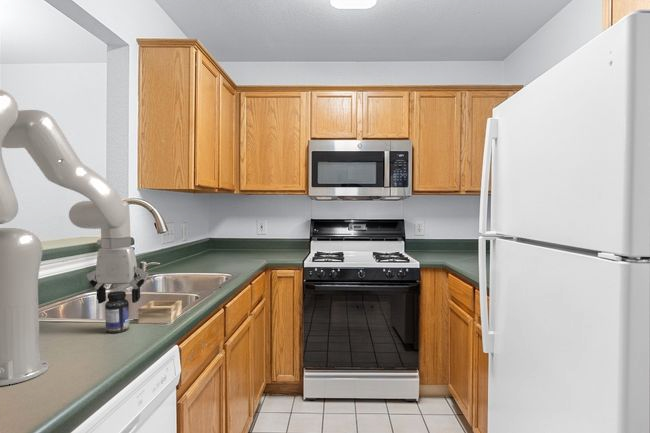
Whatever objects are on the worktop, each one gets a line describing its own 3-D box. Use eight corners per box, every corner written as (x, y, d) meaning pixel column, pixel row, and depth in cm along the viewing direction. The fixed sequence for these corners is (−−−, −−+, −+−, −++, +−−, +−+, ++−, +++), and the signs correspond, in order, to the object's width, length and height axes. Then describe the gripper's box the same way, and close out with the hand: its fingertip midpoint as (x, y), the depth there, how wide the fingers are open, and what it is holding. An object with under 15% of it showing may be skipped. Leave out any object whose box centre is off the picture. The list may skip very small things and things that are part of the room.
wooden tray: (171, 322, 126) (171, 308, 126) (138, 323, 126) (138, 308, 126) (181, 314, 136) (181, 300, 136) (151, 314, 136) (151, 300, 136)
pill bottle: (123, 326, 123) (122, 289, 123) (133, 330, 119) (132, 292, 119) (101, 331, 118) (101, 293, 118) (111, 335, 114) (110, 296, 114)
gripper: (78, 245, 114) (81, 306, 115) (141, 244, 115) (143, 305, 116) (92, 242, 122) (95, 299, 123) (151, 241, 122) (154, 298, 123)
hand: (119, 301), depth 119 cm, fingers open, 9 cm apart
